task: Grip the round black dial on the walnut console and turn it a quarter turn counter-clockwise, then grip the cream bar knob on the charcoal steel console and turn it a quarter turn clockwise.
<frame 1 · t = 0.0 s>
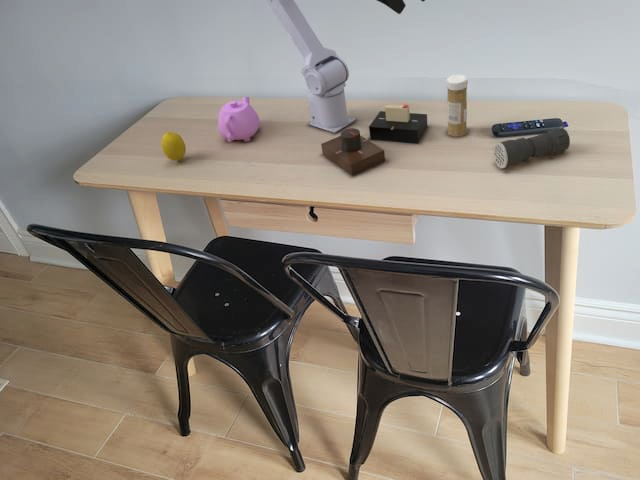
hand: (414, 3, 111), 32 cm above the table, tool tilted 50°, fingers open, 7 cm apart
flashlight: (529, 159, 124), on the table
bar knob: (397, 112, 136), point 5 cm above the table, hinge at 0.0°
sprinkles bottle: (457, 133, 136), on the table
teapot: (243, 134, 150), on the table
lemon: (178, 161, 144), on the table
round dial: (350, 139, 130), point 5 cm above the table, hinge at 0.0°
steel console: (399, 133, 140), on the table
walnut console: (353, 158, 133), on the table
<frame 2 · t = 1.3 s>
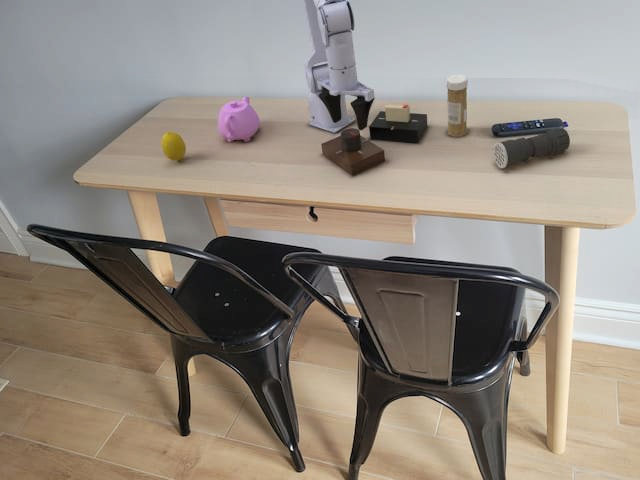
hand: (349, 124, 128), 9 cm above the table, tool pointing down, fingers open, 7 cm apart
nothing on the table moved.
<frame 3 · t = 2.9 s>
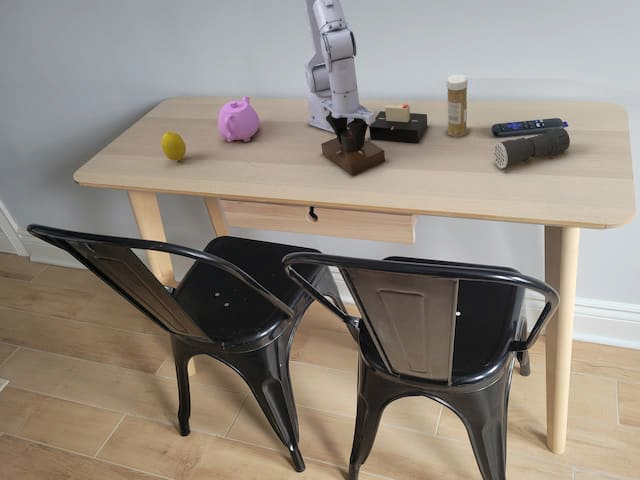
hand: (351, 144, 131), 3 cm above the table, tool pointing down, fingers closed on round dial, 4 cm apart
round dial: (350, 139, 130), point 5 cm above the table, hinge at -0.1°, touching gripper
everything else where it was.
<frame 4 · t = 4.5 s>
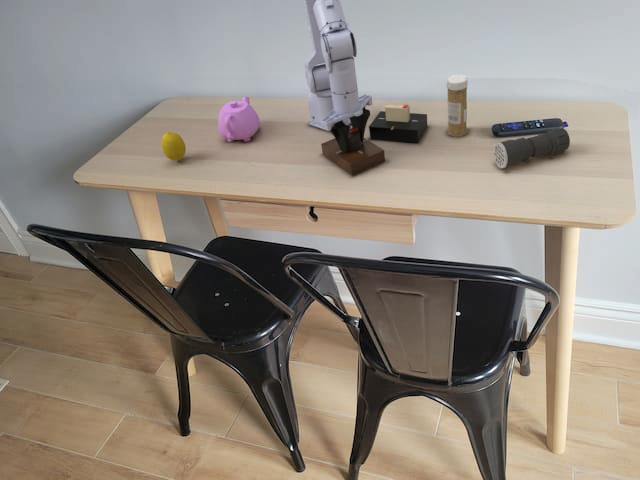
hand: (351, 145, 131), 3 cm above the table, tool pointing down, fingers closed on round dial, 4 cm apart
round dial: (350, 139, 130), point 5 cm above the table, hinge at 90.1°, touching gripper
everything else where it was.
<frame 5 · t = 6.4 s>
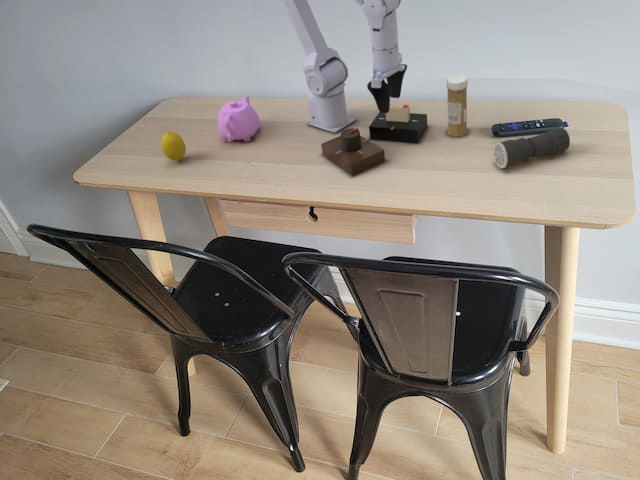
hand: (389, 104, 133), 8 cm above the table, tool pointing down, fingers open, 7 cm apart
round dial: (350, 139, 130), point 5 cm above the table, hinge at 90.9°
everything else where it was.
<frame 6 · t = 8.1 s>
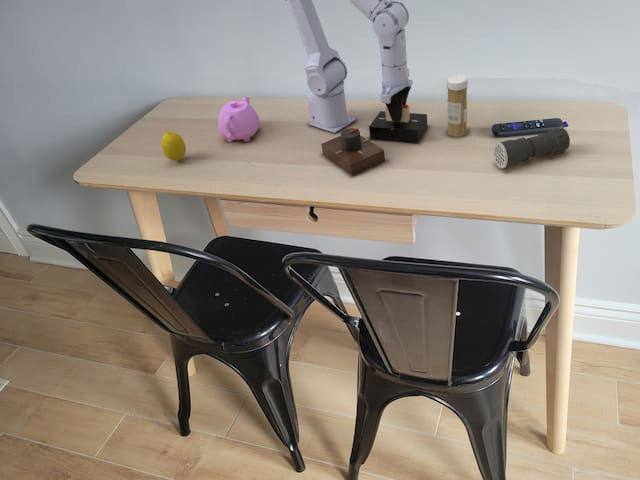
hand: (397, 118, 137), 4 cm above the table, tool pointing down, fingers closed on bar knob, 2 cm apart
bar knob: (397, 112, 136), point 5 cm above the table, hinge at 0.0°, touching gripper
everything else where it was.
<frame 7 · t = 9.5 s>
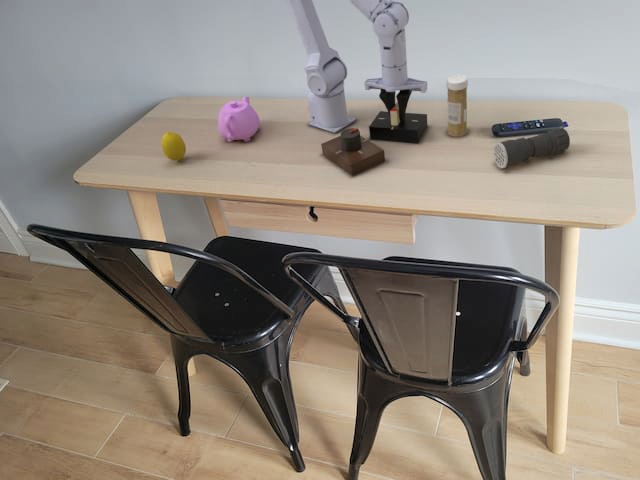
hand: (397, 118, 137), 4 cm above the table, tool pointing down, fingers closed on bar knob, 2 cm apart
bar knob: (397, 112, 136), point 5 cm above the table, hinge at -90.0°, touching gripper
everything else where it was.
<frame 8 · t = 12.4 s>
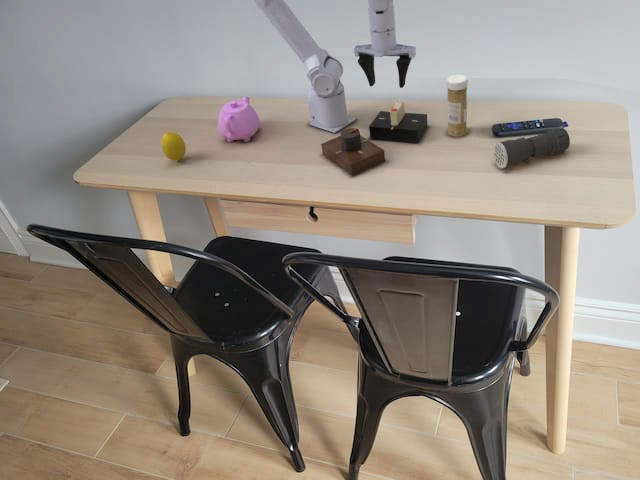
hand: (387, 85, 139), 9 cm above the table, tool pointing down, fingers open, 7 cm apart
bar knob: (397, 112, 136), point 5 cm above the table, hinge at -90.0°
everything else where it was.
at the end: round dial at +91° (first picture: +0°); bar knob at -90° (first picture: +0°) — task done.
